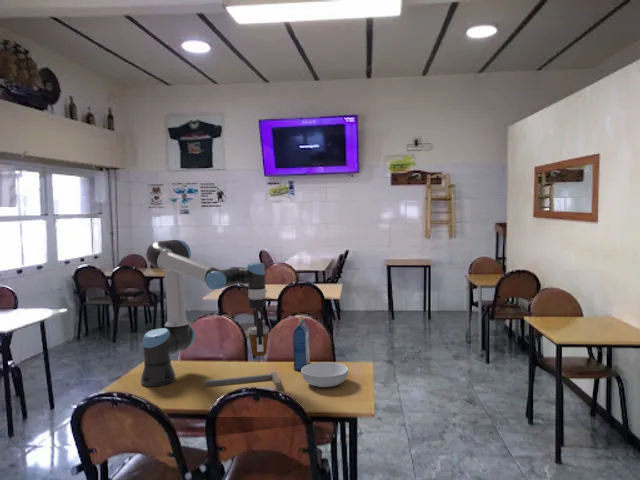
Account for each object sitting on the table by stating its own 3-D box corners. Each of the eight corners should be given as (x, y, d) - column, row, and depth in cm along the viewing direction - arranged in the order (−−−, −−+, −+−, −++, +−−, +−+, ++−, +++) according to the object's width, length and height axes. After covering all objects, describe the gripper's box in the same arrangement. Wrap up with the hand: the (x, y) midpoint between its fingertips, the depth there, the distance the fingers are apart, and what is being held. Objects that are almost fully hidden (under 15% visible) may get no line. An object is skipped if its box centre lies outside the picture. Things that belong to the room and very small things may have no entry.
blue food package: (293, 370, 235) (292, 319, 234) (297, 362, 247) (296, 314, 245) (306, 370, 234) (305, 319, 233) (310, 362, 246) (308, 314, 245)
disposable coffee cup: (252, 358, 209) (251, 331, 208) (245, 353, 217) (244, 326, 216) (273, 355, 213) (272, 328, 212) (265, 350, 221) (264, 324, 221)
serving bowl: (345, 393, 203) (345, 377, 203) (296, 391, 207) (296, 375, 207) (351, 376, 224) (351, 362, 223) (307, 375, 228) (306, 360, 227)
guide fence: (205, 397, 202) (204, 390, 202) (205, 385, 218) (204, 378, 218) (280, 389, 210) (280, 382, 210) (275, 377, 225) (275, 371, 225)
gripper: (268, 301, 204) (270, 354, 205) (262, 293, 225) (264, 341, 226) (251, 302, 202) (252, 356, 204) (246, 294, 223) (248, 343, 224)
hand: (259, 348), depth 215 cm, fingers closed on disposable coffee cup, 8 cm apart
